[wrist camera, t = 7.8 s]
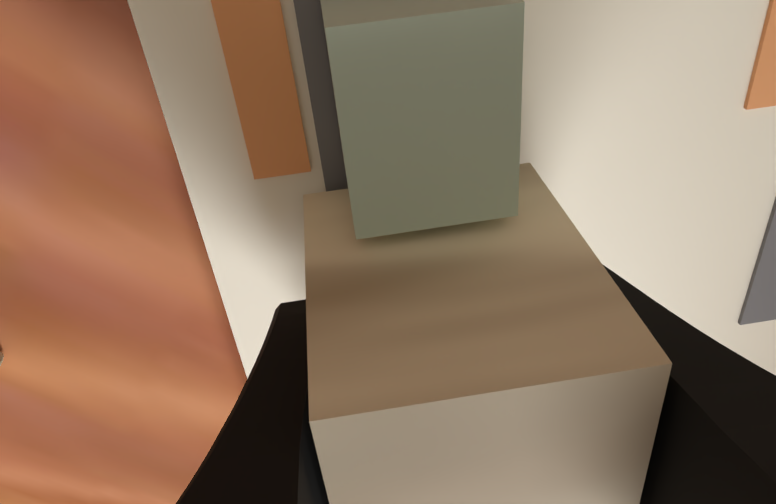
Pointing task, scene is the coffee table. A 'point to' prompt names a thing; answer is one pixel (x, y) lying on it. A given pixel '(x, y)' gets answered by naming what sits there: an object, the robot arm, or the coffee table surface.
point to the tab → (427, 109)
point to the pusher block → (475, 361)
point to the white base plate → (537, 145)
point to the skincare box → (1, 357)
